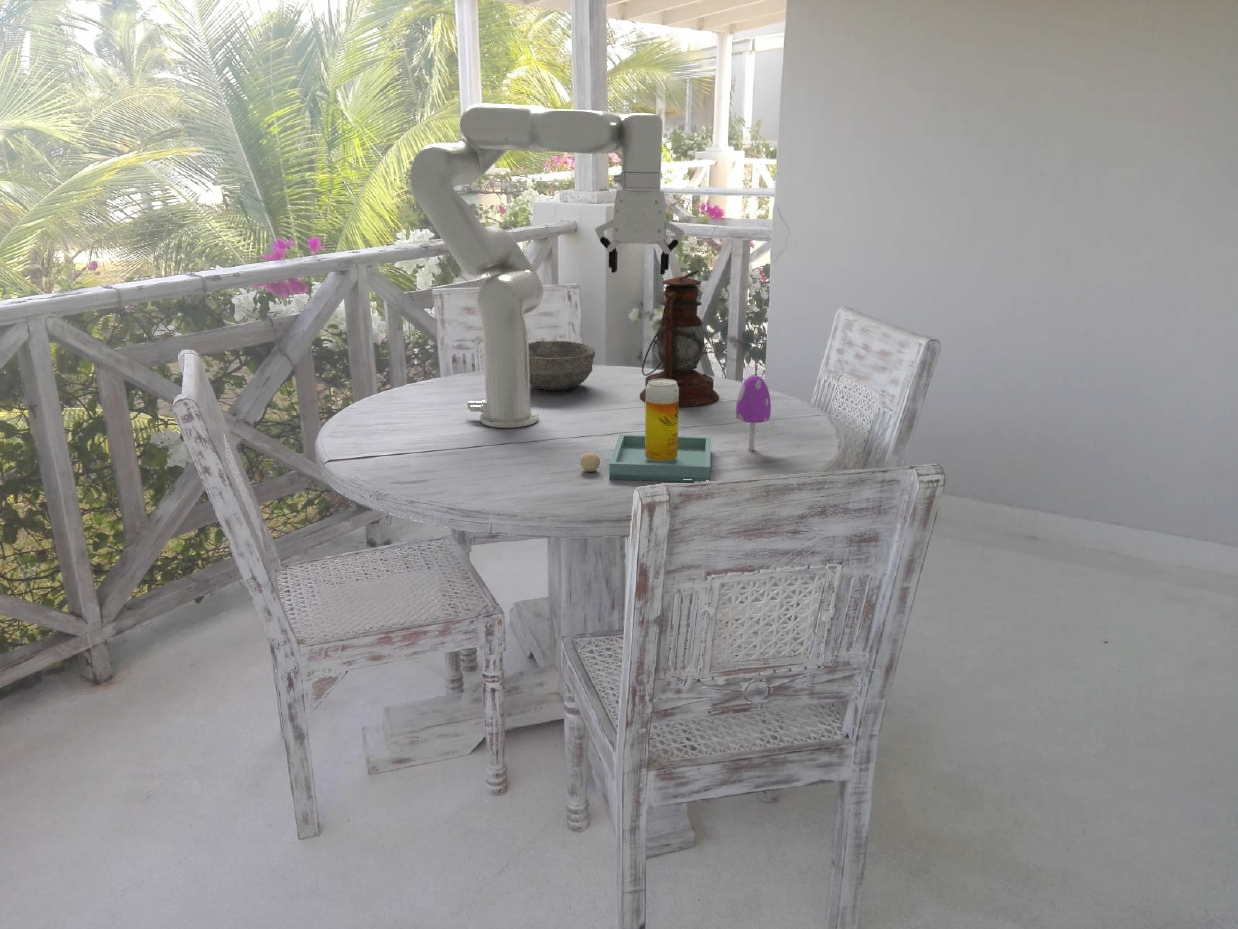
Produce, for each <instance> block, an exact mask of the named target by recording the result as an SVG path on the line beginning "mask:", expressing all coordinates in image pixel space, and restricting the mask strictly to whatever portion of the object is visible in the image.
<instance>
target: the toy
mask: <svg viewBox="0 0 1238 929" xmlns="http://www.w3.org/2000/svg"><path fill="white" fill-rule="evenodd" d="M736 400H737V401H736V406H735V416H736V419H737V420H738V421H739V422H744V423H749V424H750V427H749V439H748V450H749V451H751V452H752V451H754V450H755V435H756V434H755V433H756V432H755V431H756V430H755V428H756V424H758V423H759V424H760V423H766V422H768V421H769V420H770V418H771V414H772V413H771V409H772V405H771V403H772V402H771V394H770V390H769V388H768V385H767V383H766V382H765V380H764V379H763V377H761V376H759V375H756V374H755V375H754V374H753V375H750V376H748V377H747V378H746V379H744V381H743V383H742V385H741V386H740V389H739V392H738V395H737V399H736Z"/></svg>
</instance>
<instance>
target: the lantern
mask: <svg viewBox="0 0 1238 929" xmlns="http://www.w3.org/2000/svg"><path fill="white" fill-rule="evenodd" d="M698 272H699V270H695V271H693V272H691V273H689V274H687V275H685V276H683V275H682V276H675V277H673V278H669V279H664V280H662V284H663V285H666V286H665V290H664V297H665V300H663V301H661V302H660V304H661V305H662V306H664V307H663V311H662V317H661V318H660V320H659V322H658V326H657V331H656V332H655V333H654V335H653V339H652V341H651V343H650V345H649V346H648V349H647V351H646V353H645V356H644V359H643V362H642V366H641V372H642V375H643V376H644V377H645V376H646V377H645V388H644V389H643V390H642V391H641V392H640V393H639V399H640V400H641V401H642V402H644V403H646V386H647V384H648V381H649V380H652V379H671V380H675V381H676V382H677V385H678V387H679V406H678V409H681V408H682V409H687V408H688V409H689V408H690V409H691V408H699V407H704V406H705V407H706V406H709V405H712V404H713V405H714V404H715V403H717V402H718V401H719V400H720V395H719V393H718V392H716V391H715V390H714V378H713V377H712V376H710V375H708V374H706V373H701V372H699V371H698V370H697V368H698V364H699V362H700V361H701V358H702V356H703V355H704V354H707V353H708V352H709V350H708V347H707V346H708V344H705V337H706V338H708V336H707V333H706V331H705V328H704V325H703V321H702V319H701V318H700V316H698V307H699V306H701V305H702V302H701V301H699V300H697V299H698V297H699V296H698V295H699V290H698V285H701V281H700V280H698V279H695V278H690V277H692V276H694V275H696V274H697V273H698ZM655 345H656V349H657V354H658V358H659V361H660V362H659V361H658V359H657V358H656V356H655V353H654V352H652V354H653V357H654V358H655V360H656V361H657V363H658V364H657V366H656V367H655V368H654V369H653V370H652V371H651V372H649V373H644V367H645V365H646V364H645V362H646V360H647V357H648V355H649V352H650V350H651V348H652V350H654V348H655ZM704 347H705V349H704ZM660 366H661V367H662V368H663V369H662V371H660V372H657V373H654V372H655V371H656V370H658V368H659V367H660Z"/></svg>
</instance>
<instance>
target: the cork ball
mask: <svg viewBox="0 0 1238 929" xmlns="http://www.w3.org/2000/svg"><path fill="white" fill-rule="evenodd" d="M600 465H601V458H600V457H599V456H598V455H597V453H595V452H592V451H590V452H586V453H584V454H583V455H582V456H581V458H580V466H581V468H582V469H583V470H584V471H586V472H588V473H590V472H595V471H596V470H598V468H599V467H600Z"/></svg>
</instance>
